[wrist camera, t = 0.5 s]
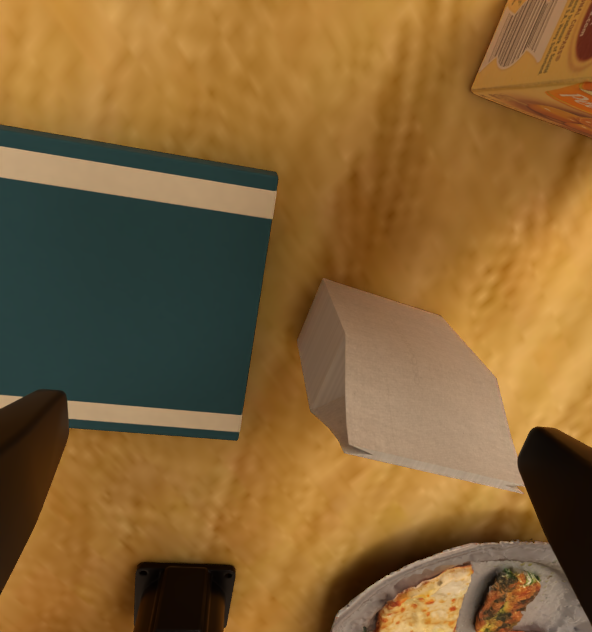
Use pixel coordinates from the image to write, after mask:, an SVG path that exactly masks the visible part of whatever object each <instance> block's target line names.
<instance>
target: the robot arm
mask: <svg viewBox="0 0 592 632" xmlns="http://www.w3.org/2000/svg"><path fill="white" fill-rule="evenodd" d="M68 434H69V419H68V403H67V396H66V393H65V392H64V391H62V390H51V389H39V390H36V391H34V392H32V393H30V394H28V395H26V396H24V397H22V398H20V399H18V400H16V401H14V402H12V403H11V404H9V405H7V406H5V407H3V408H1V409H0V594H1V592H2V590H3V588H4V587H5V585H6V583H7V581H8V579H9V577H10V575H11V573H12V571H13V569H14V567H15V565H16V563H17V561H18V559H19V557H20V555H21V553H22V551H23V549H24V547H25V545H26V543H27V541H28V539H29V537H30V535H31V533H32V531H33V529H34V527H35V525H36V522H37V520H38V517H39V515H40V512H41V510H42V507H43V504H44V502H45V499H46V496H47V494H48V491H49V488H50V486H51V483H52V480H53V478H54V475H55V472H56V470H57V467H58V464H59V462H60V459H61V456H62V454H63V451H64V448H65V446H66V443H67V439H68ZM517 466H518V470H519V473H520V475H521V478H522V480H523V482H524V485H525V487H526V490H527V492H528V495H529V497H530V499H531V502H532V504H533V507H534V509H535V512H536V514H537V517H538V519H539V521H540V524H541V526H542V529H543V531H544V533H545V536H546V538H547V540H548V542H549V544H550V546H551V548H552V550H553V552H554V554H555V556H556V558H557V560H558V562H559V564H560V566H561V568H562V570H563V572H564V574H565V576H566V578H567V579H568V581H569V583H570V585H571V587H572V589H573V591H574V593H575V595H576V597H577V599H578V601H579V603H580V605H581V607H582V608H583V610H584V612H585V614H586V616H587V618H588V620H589V622H590V624H591V626H592V448H591V447H589V446H587V445H585V444H584V443H582V442H580V441H578V440H576V439H574V438H573V437H571V436H569V435H567V434H565V433H563V432H561V431H560V430H558V429H555V428H549V427H535V428H533V429H532V430H531V431H530V432H529V434H528V436H527V439H526V441H525V443H524V445H523V447H522V449H521V451H520V454H519V456H518V460H517ZM235 573H236V570H235V567H233V566H231V565H208V564H178V563H147V562H145V563H140V564H139V565H138V566H137V570H136V578H135V605H134V626H135V627H134V631H133V632H223V630H224V628H225V627H226V625H227V620H228V614H229V609H230V603H231V598H232V592H233V586H234V581H235Z"/></svg>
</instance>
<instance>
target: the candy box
mask: <svg viewBox="0 0 592 632" xmlns="http://www.w3.org/2000/svg"><path fill="white" fill-rule="evenodd" d="M471 91H472V93H474V94H476V95H478V96H481V97H483V98H486V99H488V100H491V101H493V102H495V103H498V104H500V105H503V106H505V107H508V108H511V109H514V110H516V111H519V112H522V113H524V114H527V115H530V116H532V117H535V118H538V119H540V120H543V121H546V122H548V123H551V124H554V125H557V126H560V127H563V128H565V129H568V130H571V131H574V132H577V133H579V134H582V135H585V136H588V137H591V138H592V0H508V1H507V4H506V6H505V8H504V11H503V13H502V16H501V18H500V21H499V23H498V26H497V28H496V30H495V33H494V35H493V38H492V40H491V43H490V45H489V48H488V50H487V52H486V54H485V57H484V59H483V61H482V64H481V66H480V68H479V71H478V73H477V76H476V78H475V80H474V83H473V85H472V88H471Z"/></svg>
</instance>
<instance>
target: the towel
mask: <svg viewBox="0 0 592 632" xmlns="http://www.w3.org/2000/svg"><path fill="white" fill-rule="evenodd" d="M277 184H278V176H277V173H276V172H273V171H267V170H261V169H256V168H250V167H244V166H238V165H232V164H226V163H221V162H215V161H209V160H203V159H197V158H191V157H186V156H180V155H174V154H168V153H162V152H156V151H151V150H145V149H139V148H133V147H127V146H121V145H116V144H110V143H104V142H98V141H92V140H86V139H81V138H75V137H69V136H63V135H57V134H51V133H46V132H40V131H34V130H28V129H22V128H16V127H11V126H5V125H0V409H1V408H3V407H5V406H7V405H9V404H11V403H12V402H14V401H16V400H18V399H20V398H22V397H24V396H26V395H28V394H30V393H32V392H34V391H36V390H39V389H51V390H62V391H64V392H65V393H66V396H67V403H68V419H69V428H78V429H91V430H104V431H117V432H130V433H143V434H157V435H170V436H183V437H196V438H209V439H222V440H236V441H237V440H238V438H239V432H240V428H241V422H242V415H243V406H244V399H245V393H246V386H247V380H248V373H249V367H250V360H251V354H252V347H253V341H254V334H255V328H256V321H257V315H258V308H259V302H260V295H261V288H262V282H263V275H264V269H265V262H266V256H267V249H268V243H269V236H270V230H271V223H272V219H273V214H274V208H275V201H276V195H277Z"/></svg>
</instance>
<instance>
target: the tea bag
mask: <svg viewBox="0 0 592 632" xmlns="http://www.w3.org/2000/svg"><path fill="white" fill-rule="evenodd" d="M297 343H298V349H299V354H300V359H301V365H302V370H303V375H304V381H305V386H306V391H307V397H308V402H309V407H310V411H311V412H312V413H313V414H314V415H315V416H316V417H317V418H318V419H320V420H321V421H322V422H323V423H324V424H325V425H326V426H327V427H328V428H329V429H330V430H331V431H332V433H333V434H334V435H335V437H336V438H337V439H338V441H339V443H340V445H341V447H342V449H343V451H344V453H346V454H351V455H355V456H359V457H364V458H368V459H373V460H377V461H381V462H386V463H390V464H395V465H399V466H403V467H408V468H412V469H417V470H421V471H425V472H430V473H434V474H439V475H443V476H447V477H452V478H456V479H461V480H465V481H469V482H474V483H478V484H482V485H487V486H491V487H496V488H500V489H504V490H509V491H513V492H518V493H522V494H524V493H523V492H522V491H521V490H520V489H519V488H518V487H517V486H525V485H524V482H523V480H522V478H521V475H520V473H519V470H518V466H517V460H518V457H517V454H516V451H515V447H514V444H513V441H512V438H511V434H510V430H509V426H508V422H507V418H506V414H505V410H504V406H503V402H502V398H501V394H500V390H499V386H498V382H497V378H496V377H495V376H494V375H493V374H492V373H491V372H490V370H489V369H488V368H487V367H486V366H485V365H484V364H483V363H482V361H481V360H480V359H479V358H478V357H477V356H476V355H475V354H474V352H473V351H472V350H471V349H470V348H469V347H468V346H467V345H466V344H465V342H464V341H463V340H462V339H461V338H460V337H459V336H458V335H457V333H456V332H455V331H454V330H453V329H452V328H451V327H450V326H449V324H448V323H447V322H446V321H445V320H444V319H443V318H442V317H441V316H440V315H437V314H434V313H430V312H427V311H424V310H421V309H418V308H415V307H412V306H409V305H406V304H402V303H399V302H396V301H393V300H390V299H387V298H384V297H381V296H377V295H374V294H371V293H368V292H365V291H362V290H359V289H356V288H353V287H349V286H346V285H343V284H340V283H337V282H334V281H331V280H328V279H325V278H323V279H322V281H321V284H320V286H319V288H318V291H317V293H316V296H315V298H314V301H313V303H312V305H311V308H310V310H309V313H308V315H307V318H306V320H305V322H304V325H303V327H302V330H301V332H300V335H299V337H298V339H297Z"/></svg>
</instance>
